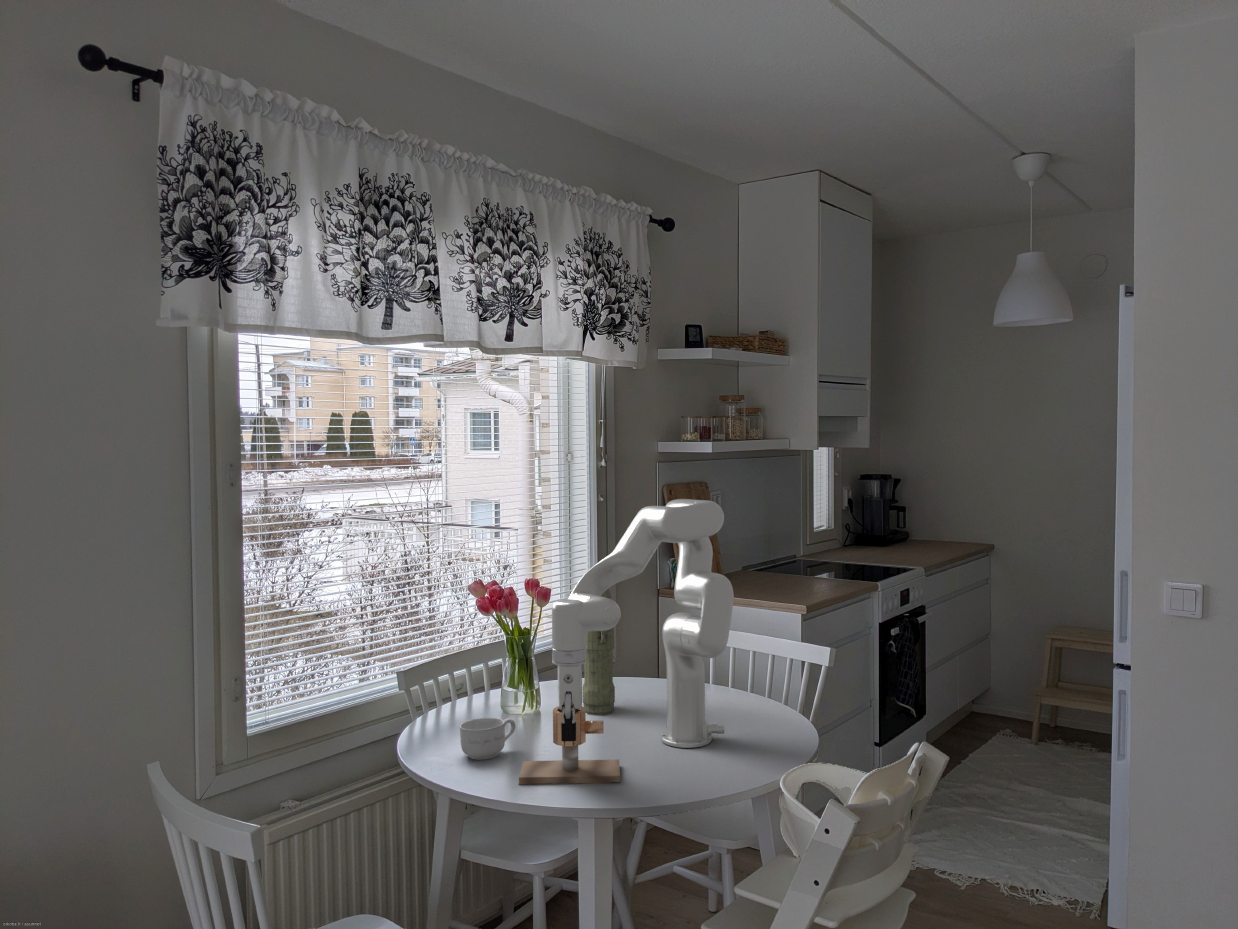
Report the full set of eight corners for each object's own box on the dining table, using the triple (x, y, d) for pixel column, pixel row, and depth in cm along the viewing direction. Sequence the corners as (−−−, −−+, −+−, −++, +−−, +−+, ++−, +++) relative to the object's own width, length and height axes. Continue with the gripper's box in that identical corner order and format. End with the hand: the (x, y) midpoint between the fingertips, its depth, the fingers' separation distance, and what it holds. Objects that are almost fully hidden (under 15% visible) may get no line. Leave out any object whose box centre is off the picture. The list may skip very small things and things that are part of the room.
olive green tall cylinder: (604, 703, 248) (603, 581, 247) (622, 714, 237) (620, 587, 237) (575, 707, 244) (574, 583, 244) (592, 718, 233) (591, 589, 233)
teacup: (465, 766, 198) (465, 732, 198) (455, 752, 208) (454, 719, 208) (523, 757, 204) (523, 724, 204) (510, 743, 214) (510, 711, 214)
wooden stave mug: (554, 735, 196) (554, 705, 196) (603, 735, 196) (603, 704, 196) (552, 746, 189) (552, 714, 189) (603, 746, 189) (603, 714, 189)
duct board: (619, 766, 198) (618, 733, 198) (620, 782, 188) (619, 748, 188) (523, 767, 197) (522, 735, 197) (518, 784, 187) (518, 750, 187)
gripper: (585, 665, 183) (585, 748, 184) (586, 647, 201) (587, 723, 201) (549, 665, 183) (550, 748, 184) (554, 647, 201) (554, 723, 201)
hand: (569, 734), depth 192 cm, fingers closed on wooden stave mug, 7 cm apart
